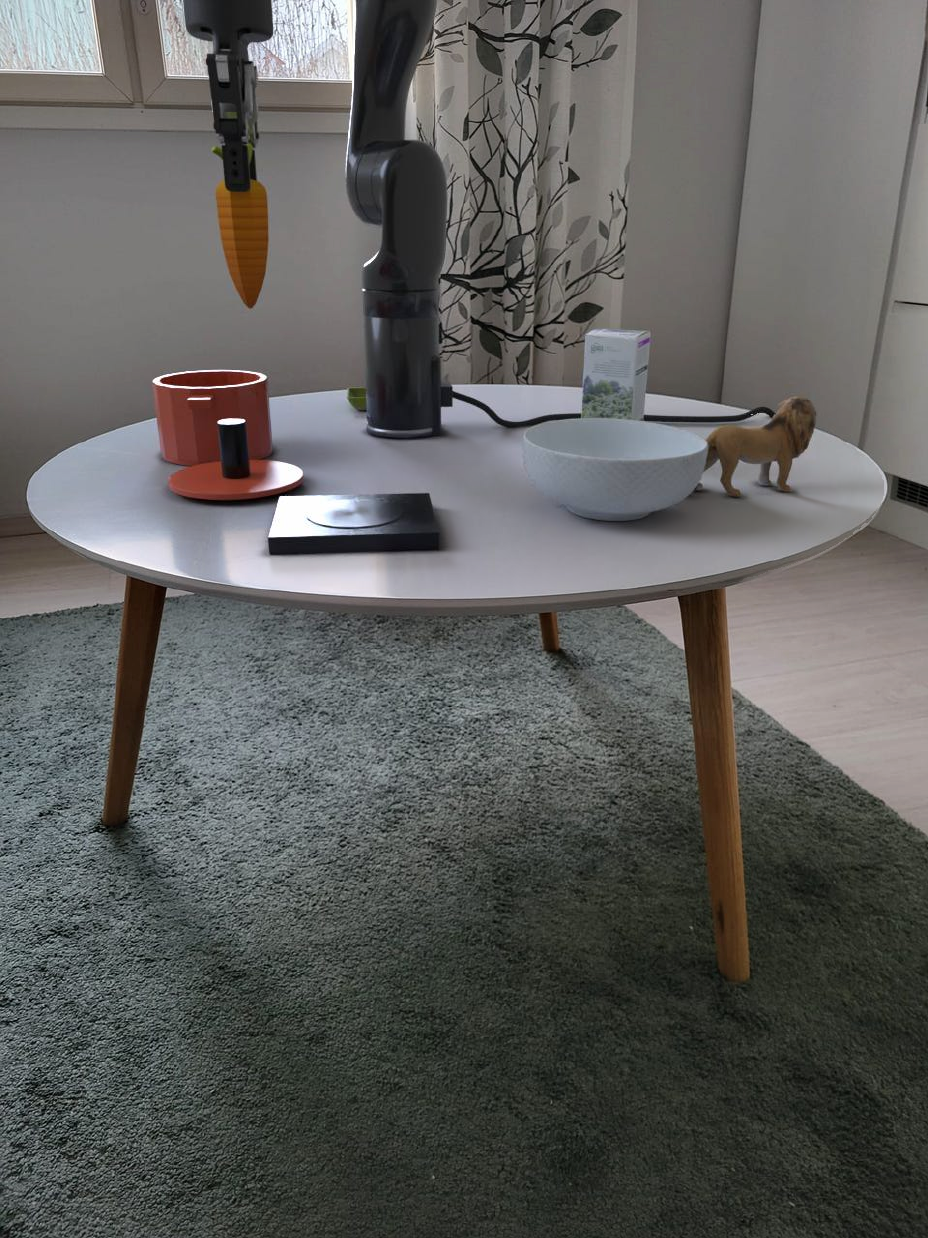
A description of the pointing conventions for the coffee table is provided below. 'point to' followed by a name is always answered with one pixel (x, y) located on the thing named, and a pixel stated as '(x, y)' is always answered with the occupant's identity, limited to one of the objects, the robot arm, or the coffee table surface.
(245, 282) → the carrot
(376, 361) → the robot arm
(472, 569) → the coffee table surface
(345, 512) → the hob plate
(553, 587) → the coffee table surface
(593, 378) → the syrup box
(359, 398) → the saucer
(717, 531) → the coffee table surface
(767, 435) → the lion figurine
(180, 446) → the pot
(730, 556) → the coffee table surface
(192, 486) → the pot lid
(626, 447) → the cereal bowl
